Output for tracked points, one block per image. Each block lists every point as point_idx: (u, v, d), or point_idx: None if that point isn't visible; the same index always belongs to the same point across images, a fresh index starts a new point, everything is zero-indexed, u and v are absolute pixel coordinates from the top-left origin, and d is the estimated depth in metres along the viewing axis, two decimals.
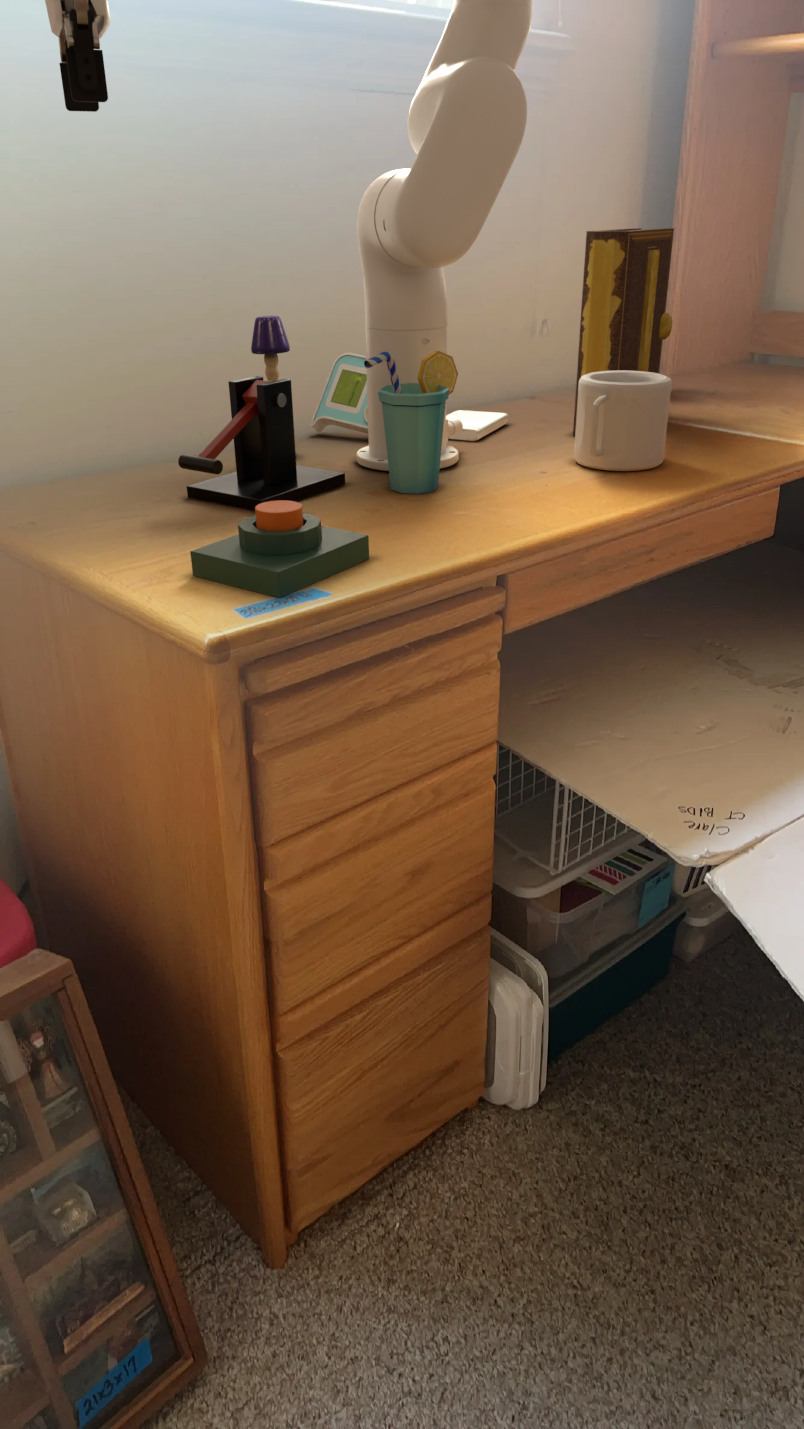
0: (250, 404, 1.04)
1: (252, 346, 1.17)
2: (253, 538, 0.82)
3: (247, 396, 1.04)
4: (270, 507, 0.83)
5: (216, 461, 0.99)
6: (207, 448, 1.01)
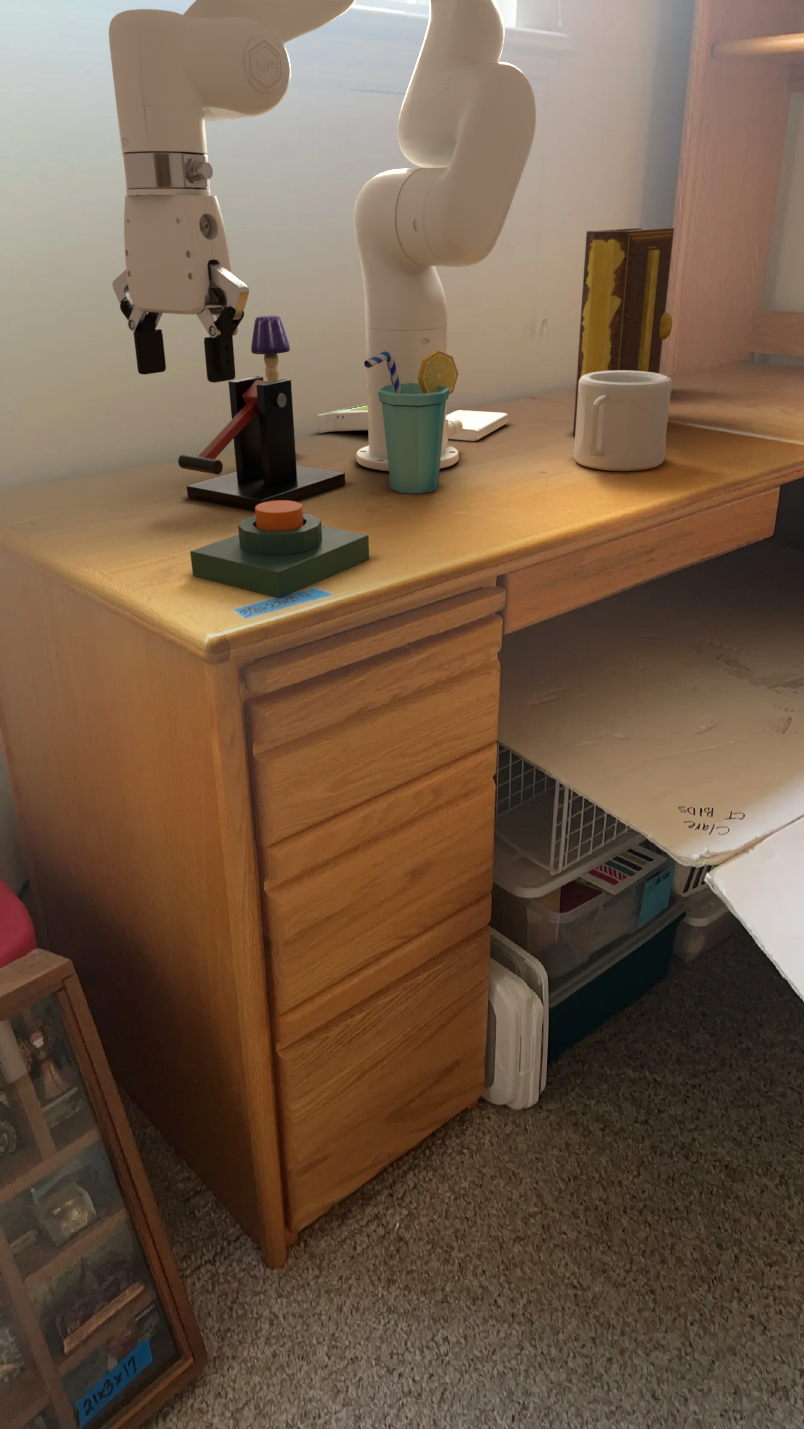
0: (250, 404, 1.04)
1: (252, 346, 1.17)
2: (253, 538, 0.82)
3: (247, 396, 1.04)
4: (270, 507, 0.83)
5: (216, 461, 0.99)
6: (207, 448, 1.01)
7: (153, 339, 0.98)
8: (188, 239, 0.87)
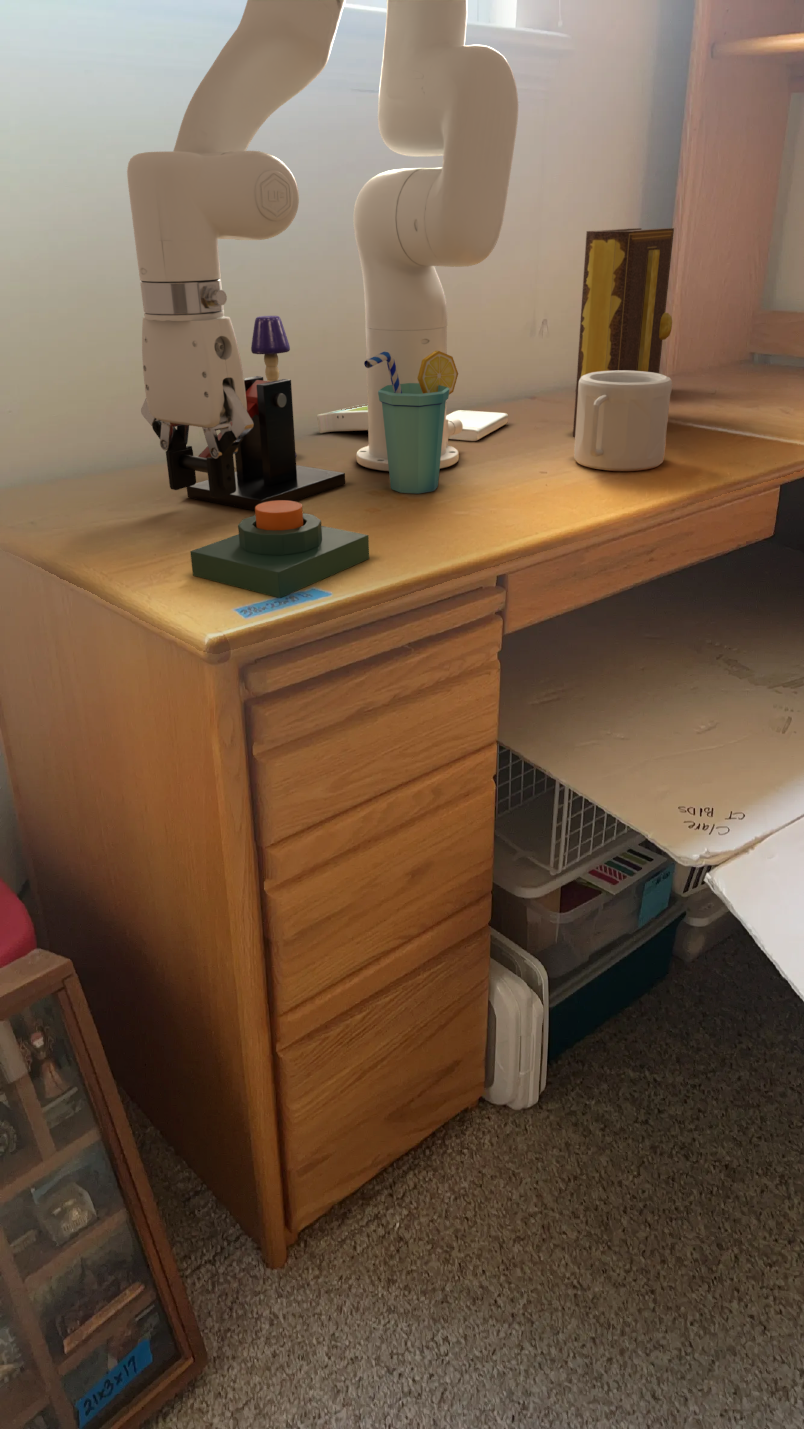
0: (250, 404, 1.04)
1: (252, 346, 1.17)
2: (253, 538, 0.82)
3: (247, 396, 1.04)
4: (270, 507, 0.83)
5: None
6: (207, 448, 1.01)
7: None
8: (204, 361, 0.92)
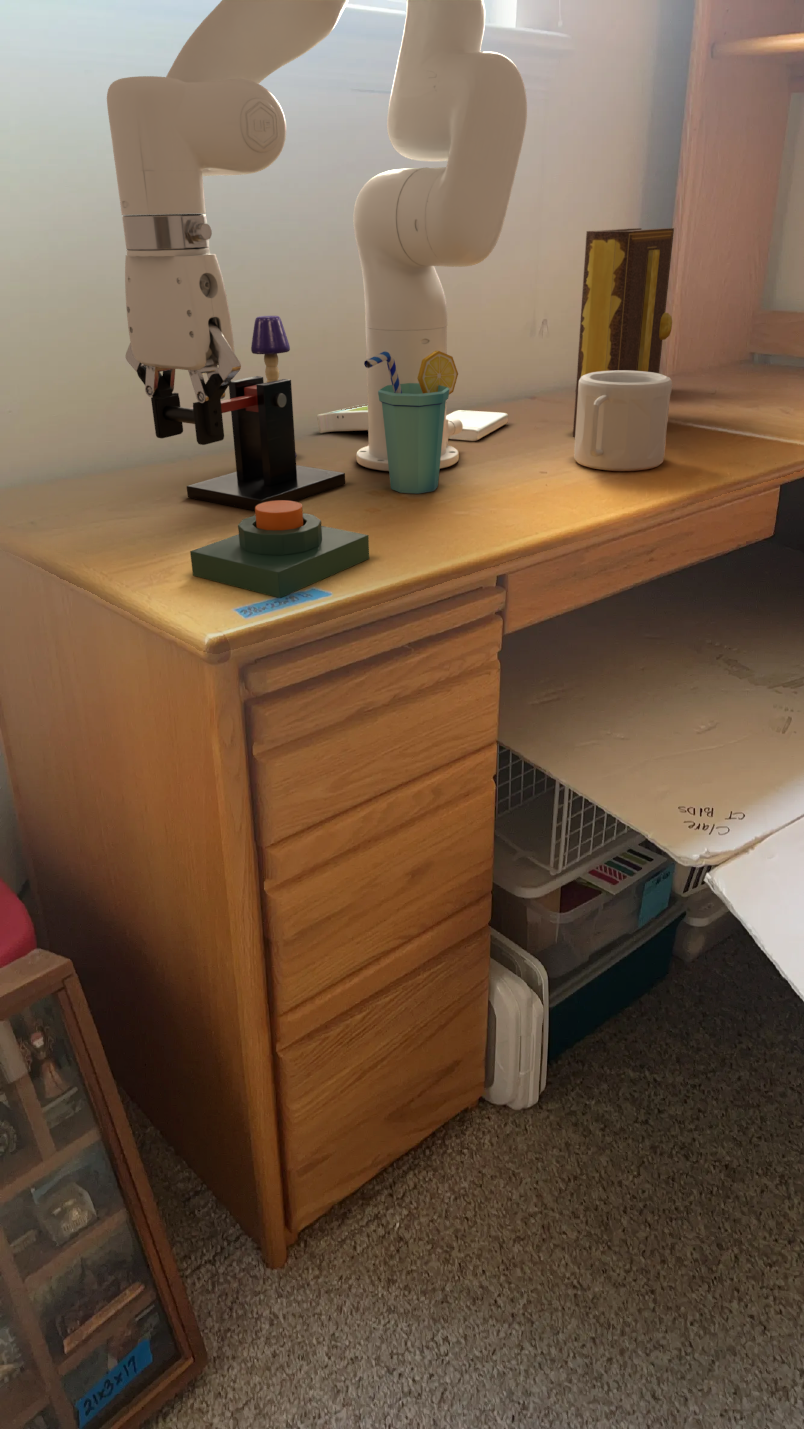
0: (249, 395, 1.04)
1: (252, 346, 1.17)
2: (253, 538, 0.82)
3: (249, 388, 1.04)
4: (270, 507, 0.83)
5: None
6: None
7: (170, 403, 0.98)
8: (189, 299, 0.89)
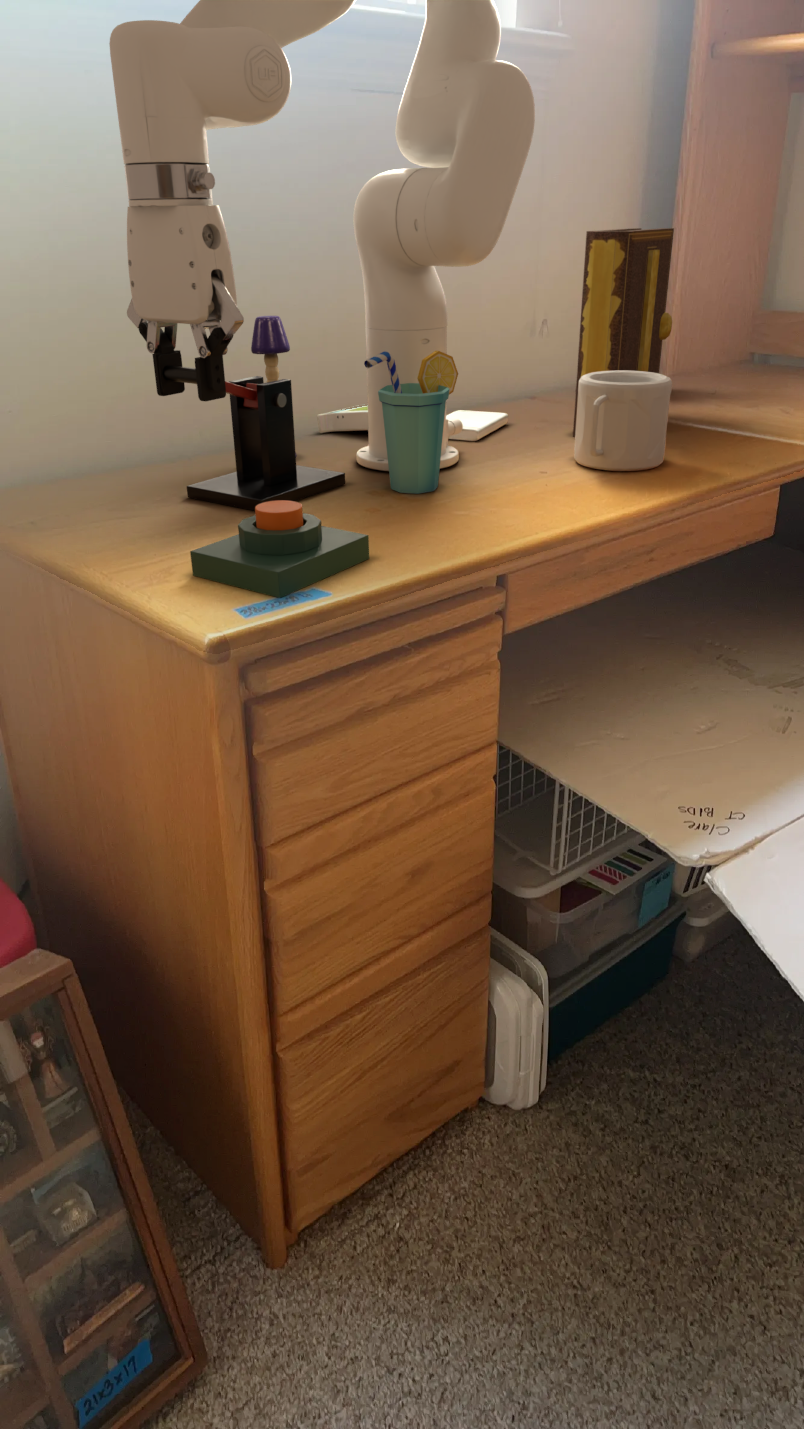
0: None
1: (252, 346, 1.17)
2: (253, 538, 0.82)
3: (251, 384, 1.04)
4: (270, 507, 0.83)
5: None
6: None
7: (172, 360, 0.97)
8: (191, 249, 0.88)
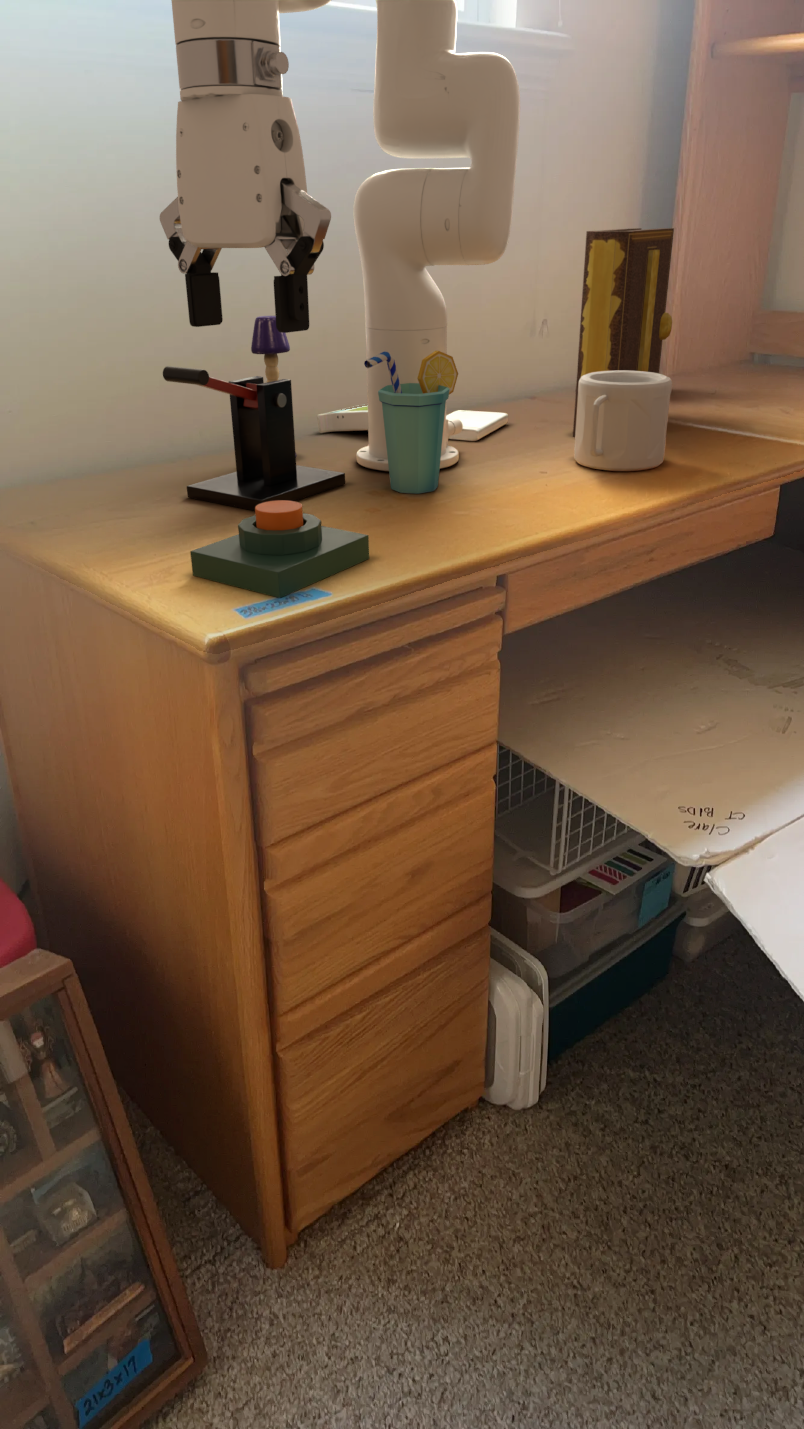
0: None
1: (252, 346, 1.17)
2: (253, 538, 0.82)
3: (251, 384, 1.04)
4: (270, 507, 0.83)
5: (206, 371, 0.95)
6: None
7: (208, 284, 0.81)
8: (257, 150, 0.70)
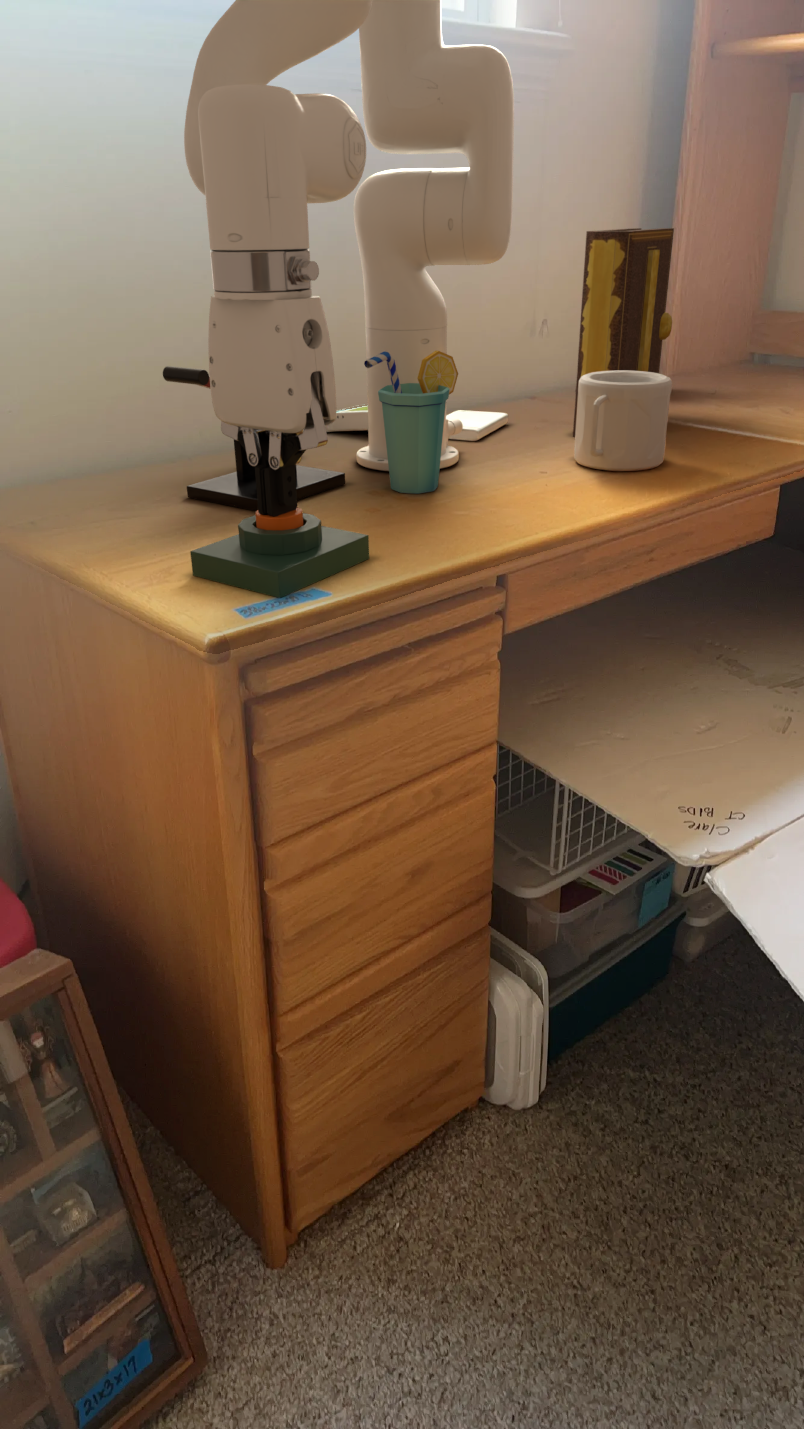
0: None
1: None
2: (253, 538, 0.82)
3: None
4: None
5: (206, 371, 0.95)
6: None
7: None
8: (289, 350, 0.74)
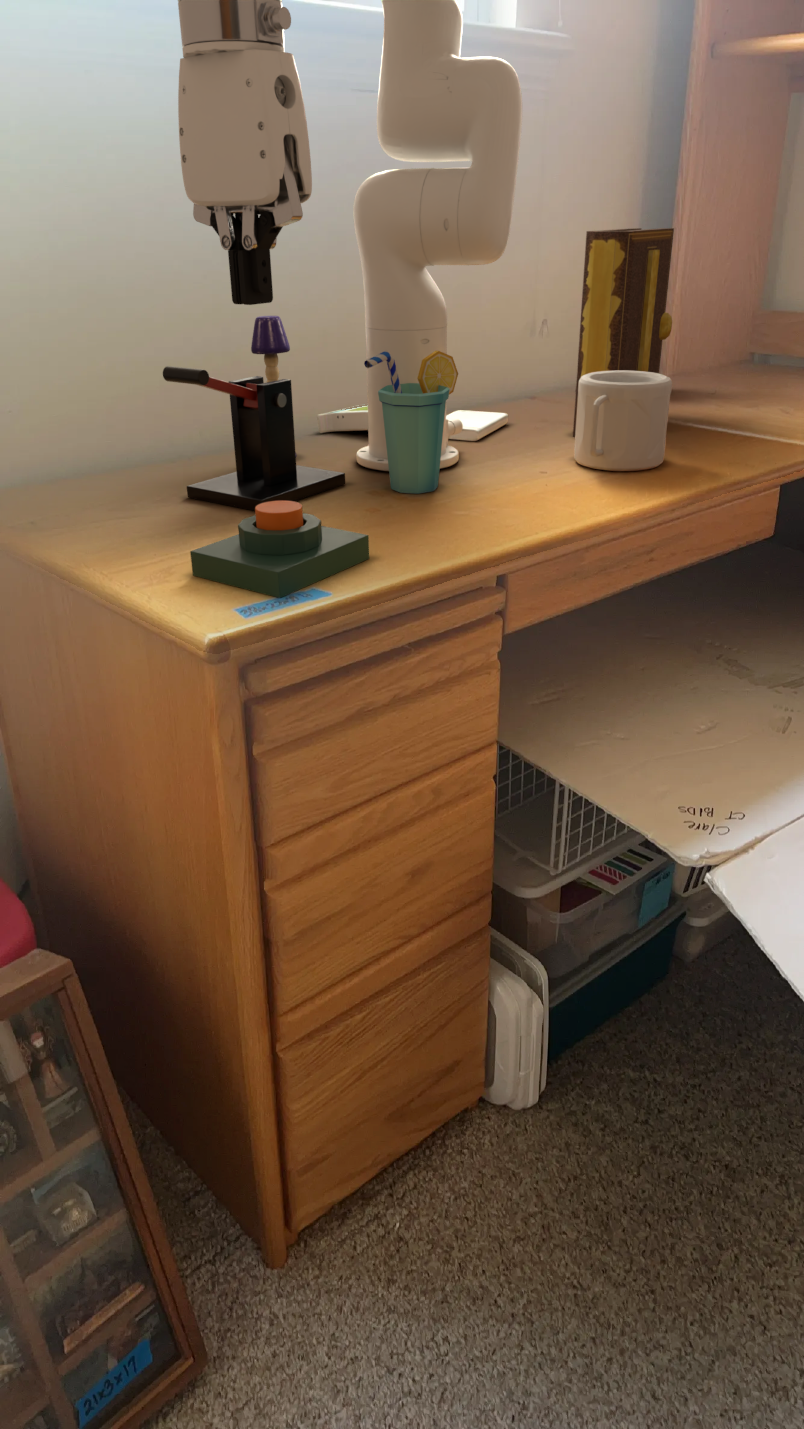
0: None
1: (252, 346, 1.17)
2: (253, 538, 0.82)
3: (251, 384, 1.04)
4: (270, 507, 0.83)
5: (206, 371, 0.95)
6: None
7: None
8: (261, 106, 0.71)
